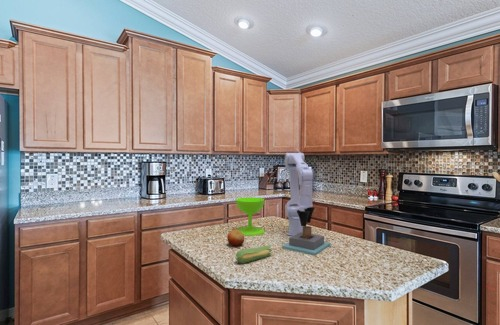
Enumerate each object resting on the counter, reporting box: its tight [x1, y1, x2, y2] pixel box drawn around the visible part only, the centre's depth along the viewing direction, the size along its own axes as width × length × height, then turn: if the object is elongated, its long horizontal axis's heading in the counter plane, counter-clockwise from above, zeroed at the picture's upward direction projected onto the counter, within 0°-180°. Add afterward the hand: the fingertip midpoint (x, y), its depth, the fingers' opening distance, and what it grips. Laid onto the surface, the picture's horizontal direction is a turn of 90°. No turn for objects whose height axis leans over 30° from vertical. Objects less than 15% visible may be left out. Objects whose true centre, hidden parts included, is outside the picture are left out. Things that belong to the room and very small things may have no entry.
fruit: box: [226, 229, 245, 248], centre depth 136 cm, size 8×8×8 cm
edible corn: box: [235, 244, 273, 264], centre depth 117 cm, size 5×20×5 cm
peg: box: [302, 225, 312, 239], centre depth 133 cm, size 4×4×8 cm
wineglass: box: [235, 197, 265, 237], centre depth 160 cm, size 16×16×18 cm
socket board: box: [281, 232, 332, 256], centre depth 133 cm, size 18×16×4 cm
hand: (305, 224), depth 134 cm, fingers open, 7 cm apart
